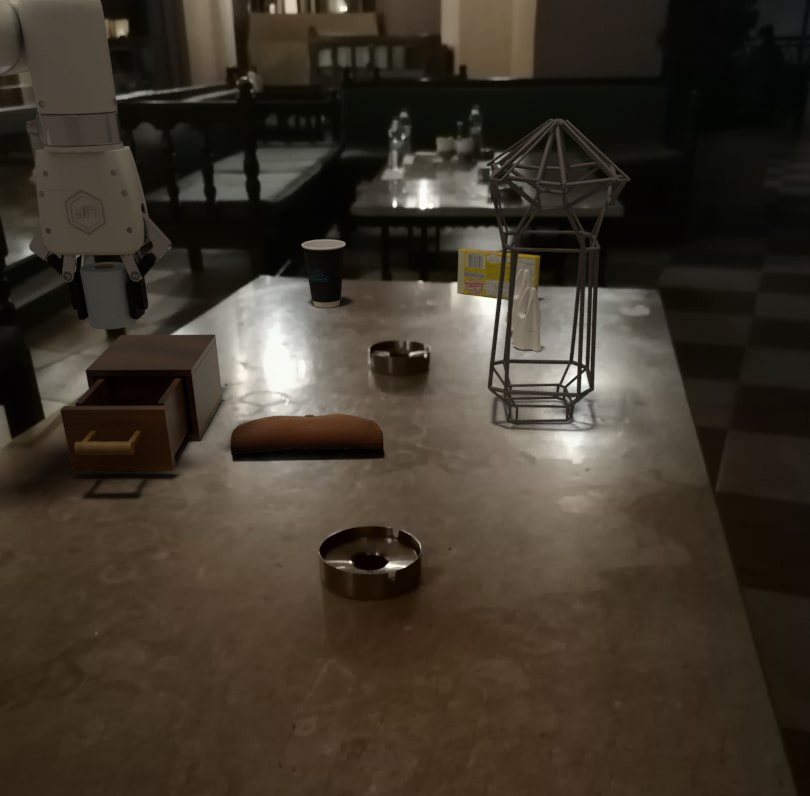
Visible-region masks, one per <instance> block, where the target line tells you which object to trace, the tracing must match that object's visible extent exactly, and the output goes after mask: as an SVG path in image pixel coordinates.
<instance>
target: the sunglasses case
mask: <svg viewBox="0 0 810 796" xmlns="http://www.w3.org/2000/svg"><path fill="white" fill-rule="evenodd" d="M285 450H292V451H293V450H294V451H314V450H315V451H316V450H375V451H376V450H380V452H382V453H385V444H384V434H383V430H382V429H381V427H380V426H379V424H378V423H377V422H375V421H374V420H371V419H367V418H364V417H361V416H358V415H352V414H345V413H332V414H324V415H314V414H305V415H271V416H265V417H260V418H256V419H253V420H250V421H247V422H243V423H240V424H239V425H237V426H236V427H235V428H234V429H233V430H232V433H231V436H230V453H231V457H233V456H236V455H245V454H256V453H268V452H279V451H285Z"/></svg>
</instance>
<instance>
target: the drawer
mask: <svg viewBox="0 0 810 796" xmlns="http://www.w3.org/2000/svg"><path fill="white" fill-rule="evenodd" d="M60 415H61V420H62V425H63V429H64V435H65V440H66V444H67V449H68V450H67V451H68V454H69V459H70V464H71V469H72V471H73V472H119V471H120V472H121V471H122V472H124V471H126V472H127V471H128V472H129V471H133V472H134V471H135V472H136V471H137V472H138V471H141V472H143V471H145V472H146V471H147V472H149V471H151V472H153V471H154V472H155V471H156V472H157V471H159V472H161V471H163V472H166V471H167V472H168V471H175V468H176V467H177V464H176V459H175V458H176V457H175V455H176V454H177V452H178V450H179V448H180V447H181V445H182V443H183V442H184V441H183V440H184V438H185V436H186V435H187V433H188V431H189V430H190V428H191V426H192V423H191V416H190V408H189V401H188V393H187V386H186V378H185V376H101V377H100V378H99V379H98V380H97V381H96V382H95V383H94V384H93V385H92V386H91V387H90V388H89V387H88V389H87V390H86V391H85V393H83V394H82V395H81V396H80V397H79V398H78V400H76V401H75V403H74V405H64V406H62V407H61V408H60Z"/></svg>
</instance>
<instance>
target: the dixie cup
mask: <svg viewBox="0 0 810 796" xmlns="http://www.w3.org/2000/svg"><path fill="white" fill-rule="evenodd" d="M345 246H346V242H345V241H343V240H338V239H313V240H307V241H304V242H302V243H301V247H302V248H303V255H304V261H305V266H306V273H307V280H308V284H309V285H308V286H309V291H310V298H311V301H312V302H313V306H314V307H315V308H319V309H330V308H336V307H338V306H340V301H341V300H342V288H343V271H344V270H343V269H344V258H345V257H344V255H345Z"/></svg>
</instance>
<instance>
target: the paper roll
mask: <svg viewBox="0 0 810 796" xmlns="http://www.w3.org/2000/svg"><path fill="white" fill-rule="evenodd" d="M80 274H81V280H82V285H83V291H84V296H85V302H86V307H87V313H88V318H87V319H88V322H89V323H88V324H89V326H90V327H91V328H93V329H97V330H118V329H123V328H128V327H132V326H134V325H136V324H137V323H138V320H134V319H133V318H131V315H130V309H129V302H128V296H127V290H126V283H127V282H128V281H129V277H128V275H129V274H128V272H127V270H126V268H125V265H124V263H123V262H119V261H101V262H95V263H94V262H93V263H89V264H84V265H83V267H81V268H80Z"/></svg>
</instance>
